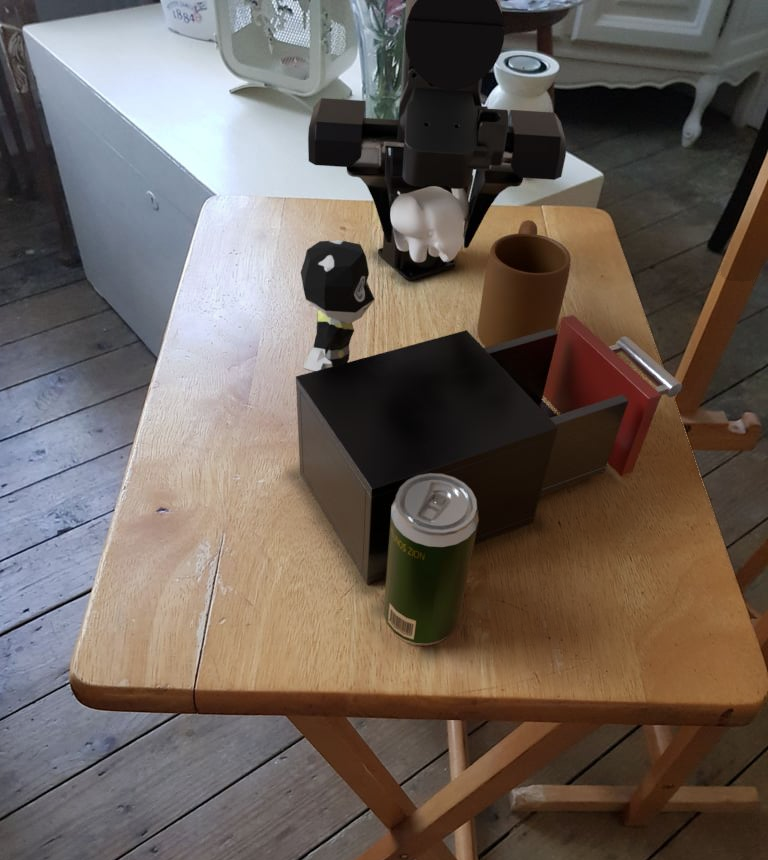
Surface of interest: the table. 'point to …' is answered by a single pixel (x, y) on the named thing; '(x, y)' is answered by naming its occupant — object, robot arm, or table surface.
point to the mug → (522, 286)
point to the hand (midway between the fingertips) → (426, 243)
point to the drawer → (587, 397)
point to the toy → (335, 298)
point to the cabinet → (419, 440)
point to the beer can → (429, 557)
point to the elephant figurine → (430, 222)
